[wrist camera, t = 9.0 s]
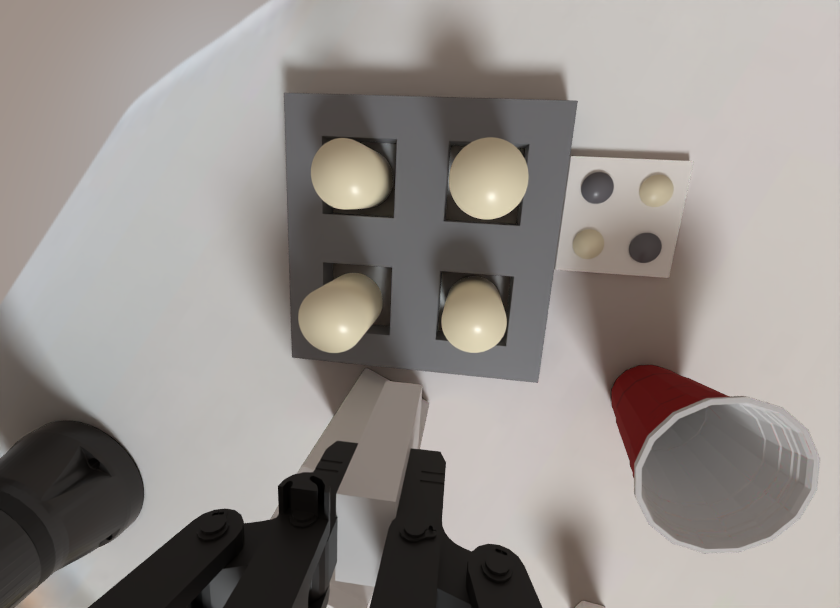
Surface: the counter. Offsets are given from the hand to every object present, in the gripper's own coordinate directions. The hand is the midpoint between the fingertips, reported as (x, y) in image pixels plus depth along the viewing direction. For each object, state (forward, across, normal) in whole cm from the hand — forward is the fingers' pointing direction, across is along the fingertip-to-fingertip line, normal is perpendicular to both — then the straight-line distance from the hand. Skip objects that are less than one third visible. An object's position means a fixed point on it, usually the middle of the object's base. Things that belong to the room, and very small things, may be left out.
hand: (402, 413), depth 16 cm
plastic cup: (+20, +19, -7) cm, 29 cm away
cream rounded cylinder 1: (+20, -7, +10) cm, 23 cm away
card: (+20, +14, +8) cm, 26 cm away
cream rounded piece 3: (+20, +3, 0) cm, 20 cm away
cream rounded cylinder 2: (+17, -7, 0) cm, 19 cm away
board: (+20, -2, +5) cm, 21 cm away
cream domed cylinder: (+17, +3, +10) cm, 20 cm away
